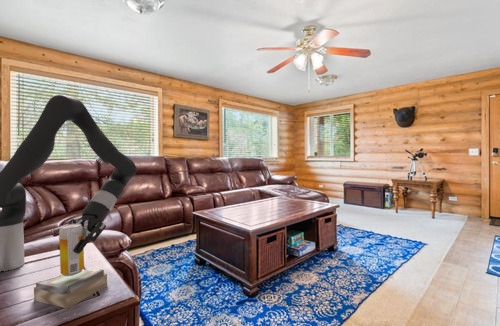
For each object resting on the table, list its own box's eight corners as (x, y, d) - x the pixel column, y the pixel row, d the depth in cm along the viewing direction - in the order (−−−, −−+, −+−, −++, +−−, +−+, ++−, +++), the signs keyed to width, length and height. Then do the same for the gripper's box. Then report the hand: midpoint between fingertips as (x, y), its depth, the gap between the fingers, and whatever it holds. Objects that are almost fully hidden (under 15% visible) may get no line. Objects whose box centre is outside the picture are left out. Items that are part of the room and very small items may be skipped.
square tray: (33, 300, 73) (32, 281, 73) (76, 279, 86) (75, 263, 85) (67, 309, 69) (66, 289, 69) (107, 285, 82) (106, 268, 81)
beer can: (80, 266, 82) (79, 222, 81) (87, 271, 78) (85, 225, 77) (58, 273, 77) (56, 226, 76) (63, 279, 73) (62, 230, 73)
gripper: (77, 199, 86) (42, 243, 75) (109, 201, 82) (76, 248, 71) (92, 210, 92) (60, 253, 81) (122, 213, 87) (93, 259, 76)
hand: (68, 251), depth 76 cm, fingers closed on beer can, 6 cm apart
